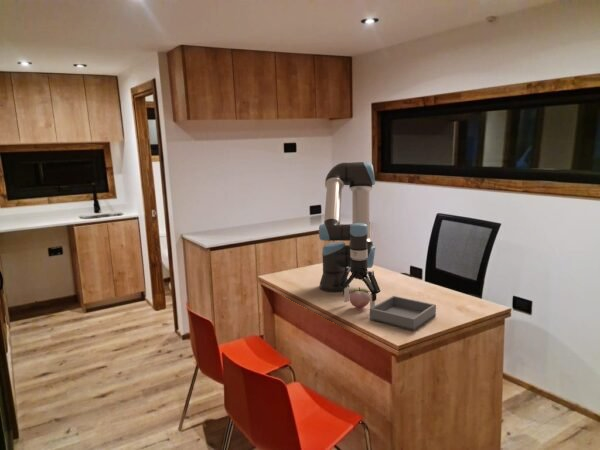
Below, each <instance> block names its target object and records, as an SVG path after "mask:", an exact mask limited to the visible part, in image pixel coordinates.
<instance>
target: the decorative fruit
mask: <svg viewBox="0 0 600 450" xmlns="http://www.w3.org/2000/svg"><path fill="white" fill-rule="evenodd" d="M370 293H371V292H370V290H369V289H368V288H367V289H366V288H361V287H358V288H355V289H352V290H349V302H350V304H351V305H352V307H354V308H357V309H359V310H360V309H363V308H365V307H366V306H368V305H369V304H370Z"/></svg>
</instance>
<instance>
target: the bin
mask: <svg viewBox="0 0 600 450" xmlns="http://www.w3.org/2000/svg"><path fill="white" fill-rule="evenodd" d="M436 309H437V305H436V304H433V303H428V302H424V301H419V300H415V299H410V298H405V297H401V296H396V295H391V297H388V298H387V299H385V300H383V301H382V302H379V303H378V304H375V306H374V307H372V308H370V307H369V321H371V322H375V323H380V324H384V325H387V326H391V327H395V328H399V329H403V330H406V331H411V332H413V333H414V332H415V331H417V330H418V329H420V328H421V327H422V326H424V325H425V324H426V323H428V322H429V321H431V320H432V319H434V318H435V317H436V315H437V313H436V312H437V310H436Z"/></svg>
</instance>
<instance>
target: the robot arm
mask: <svg viewBox="0 0 600 450" xmlns="http://www.w3.org/2000/svg"><path fill="white" fill-rule="evenodd" d="M374 171H375V170H374V165H373V163H371V162H369V161H368V162H367V161H366V162H365V161H359V162H358V161H357V162H340V163H338V164H336V165H334V166H332V168H331V169H330V170H329V172H328V173H327V174H326V176H325V180H324V181H325V182H324V186H325V189H326V193H325V194H326V195H325V205H324V206H325V207H324V221H323V224H319V227H318V238H319V239H320V241H324V242H327V241H328V242H329V243H326V244H325V245H323V246H322V253H321V255H322V275H321V278H320V282H319V288H320V290H322V291H325V292H331V293H337V292H342V294H343V295H344V299H343V300H344V303H347V302H350V293H349V292H350V284H351V283H352V281H353V280H354V279H355V280H360V281H362V282H364V284H365V285H366V287H367V289H368V290H369V291H370V292H369V295H370V302H369V309H370V308H372V307H374V306H376V301H377V294H379V293H380V292H381V289H380V286H379V284H378V281H377V279H376V276H375V271H374V270H373V269H372V268H373V266H374V261H375V255H376V254H375V253H376V245H375V244H374V243H373V242H374V241H373V240H372V239H371V238H370V235H371V234H370V192H371V190H372V189H373V186H374V185H376V180H375V172H374ZM345 186H348V187H349V190H350V191H351V192H352V194H351V195H352V196H351V197H352V201H351V202H352V203H351V204H352V206H351V207H352V210H351V211H352V213H351V214H352V223H350V224H345V223H343V224H341V215H342V213H341V210H342V194H343V193H342V192H343V191H342V190H343V189H344V187H345ZM346 241H348V242H349V244H346V243H345V242H346ZM368 269H372V270H368ZM350 273H351V274H350ZM349 275H350V276H349ZM348 276H349V277H348Z"/></svg>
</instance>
